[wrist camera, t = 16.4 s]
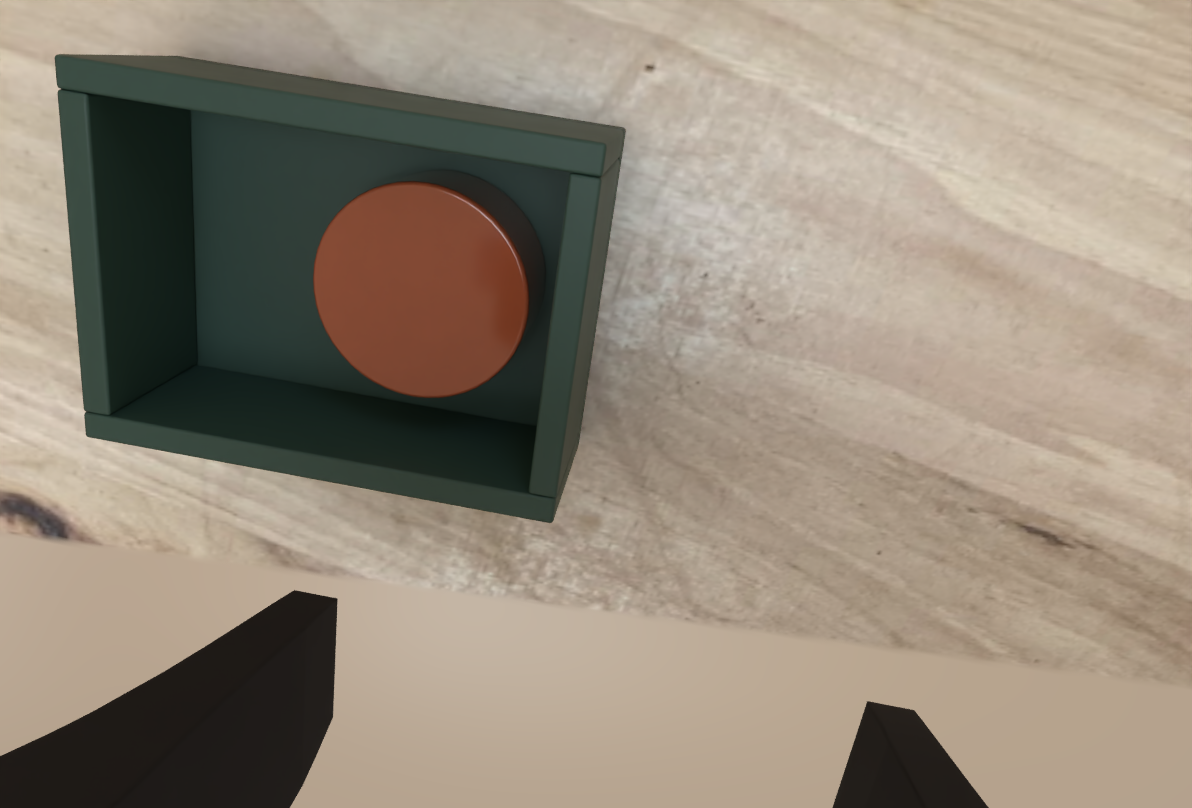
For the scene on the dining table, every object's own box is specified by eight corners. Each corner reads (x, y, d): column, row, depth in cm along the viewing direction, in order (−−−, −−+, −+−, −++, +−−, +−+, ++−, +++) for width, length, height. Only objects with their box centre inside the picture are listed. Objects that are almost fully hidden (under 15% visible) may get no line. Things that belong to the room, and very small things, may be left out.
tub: (577, 446, 22) (552, 524, 18) (187, 375, 22) (84, 438, 19) (626, 127, 19) (607, 143, 15) (176, 55, 20) (52, 53, 16)
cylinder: (534, 382, 21) (515, 417, 19) (347, 349, 21) (308, 379, 19) (558, 187, 19) (541, 202, 17) (354, 153, 19) (313, 164, 17)
